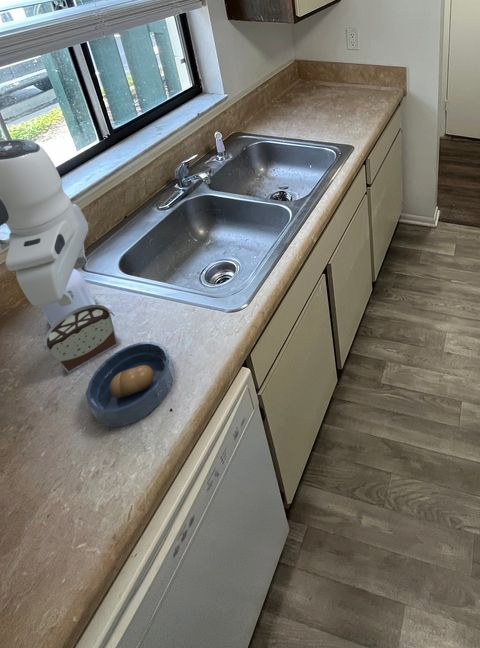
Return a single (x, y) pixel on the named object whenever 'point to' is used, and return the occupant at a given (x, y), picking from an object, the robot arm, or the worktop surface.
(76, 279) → the soap bottle
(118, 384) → the potato
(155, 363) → the bowl
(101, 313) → the cake slice
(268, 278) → the worktop surface
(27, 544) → the worktop surface
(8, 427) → the worktop surface
